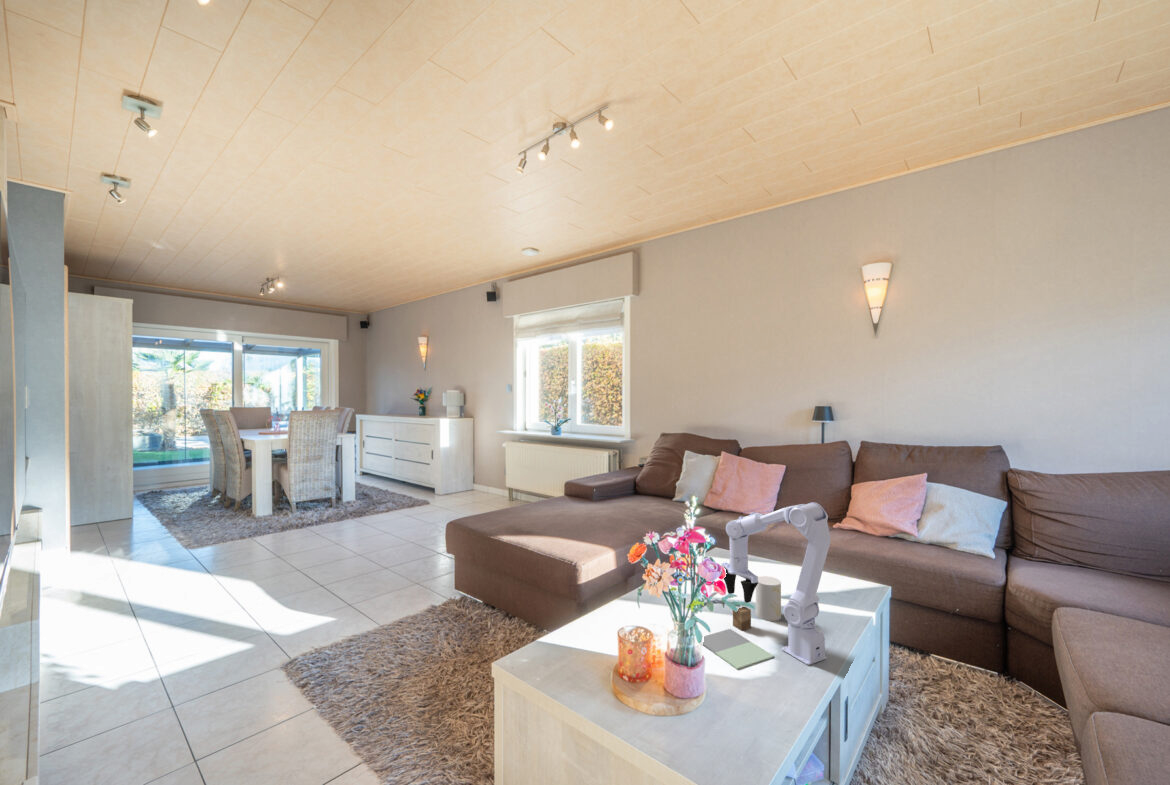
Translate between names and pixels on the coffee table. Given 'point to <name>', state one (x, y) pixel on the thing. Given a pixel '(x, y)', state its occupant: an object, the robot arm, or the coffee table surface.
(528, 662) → the coffee table surface
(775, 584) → the beige cylinder
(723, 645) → the board
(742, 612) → the block
